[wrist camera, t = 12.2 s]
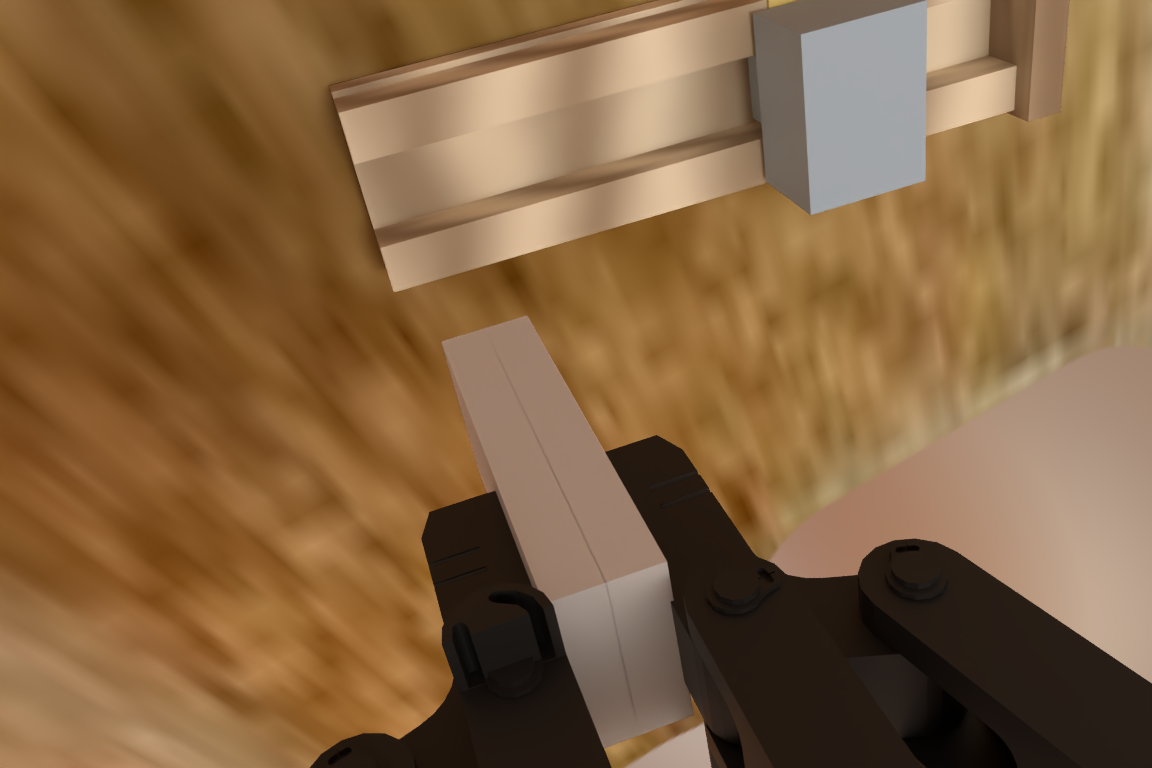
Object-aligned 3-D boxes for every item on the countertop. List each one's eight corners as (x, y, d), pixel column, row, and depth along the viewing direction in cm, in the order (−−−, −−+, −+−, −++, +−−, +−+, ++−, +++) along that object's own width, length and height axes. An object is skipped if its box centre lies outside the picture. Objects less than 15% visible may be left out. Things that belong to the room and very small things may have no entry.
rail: (385, 268, 44) (399, 308, 41) (329, 85, 40) (338, 114, 37) (1003, 89, 49) (1060, 112, 45) (1012, -93, 44) (1076, -82, 41)
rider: (746, 166, 45) (810, 215, 40) (731, 3, 42) (800, 34, 37) (849, 136, 46) (925, 180, 41) (844, -27, 42) (927, 0, 37)
